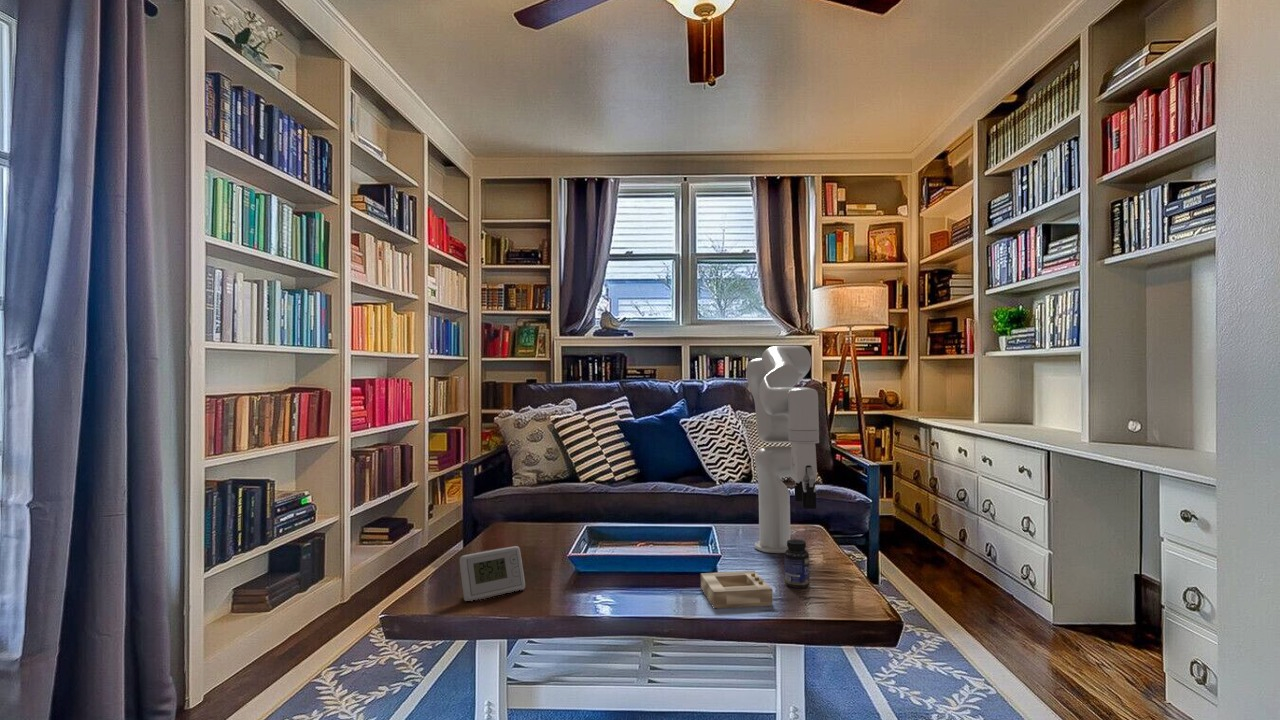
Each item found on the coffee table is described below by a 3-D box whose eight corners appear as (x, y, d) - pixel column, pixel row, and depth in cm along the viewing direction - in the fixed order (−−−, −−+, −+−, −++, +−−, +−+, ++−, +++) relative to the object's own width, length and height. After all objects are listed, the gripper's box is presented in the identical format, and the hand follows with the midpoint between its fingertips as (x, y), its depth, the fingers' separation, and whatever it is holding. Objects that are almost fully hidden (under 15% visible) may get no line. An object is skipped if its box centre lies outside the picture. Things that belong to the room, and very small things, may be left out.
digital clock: (462, 605, 148) (462, 560, 148) (456, 593, 156) (456, 550, 156) (529, 594, 155) (528, 551, 155) (520, 584, 163) (520, 543, 163)
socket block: (700, 588, 157) (700, 571, 158) (754, 585, 159) (754, 568, 159) (714, 608, 143) (713, 589, 144) (772, 605, 145) (772, 586, 145)
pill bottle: (810, 589, 156) (809, 545, 156) (785, 588, 157) (784, 544, 157) (808, 581, 162) (807, 538, 162) (784, 580, 163) (783, 538, 163)
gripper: (782, 434, 167) (784, 498, 166) (795, 439, 150) (797, 511, 149) (811, 434, 166) (812, 498, 166) (827, 439, 149) (828, 511, 149)
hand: (805, 504), depth 157 cm, fingers open, 9 cm apart
